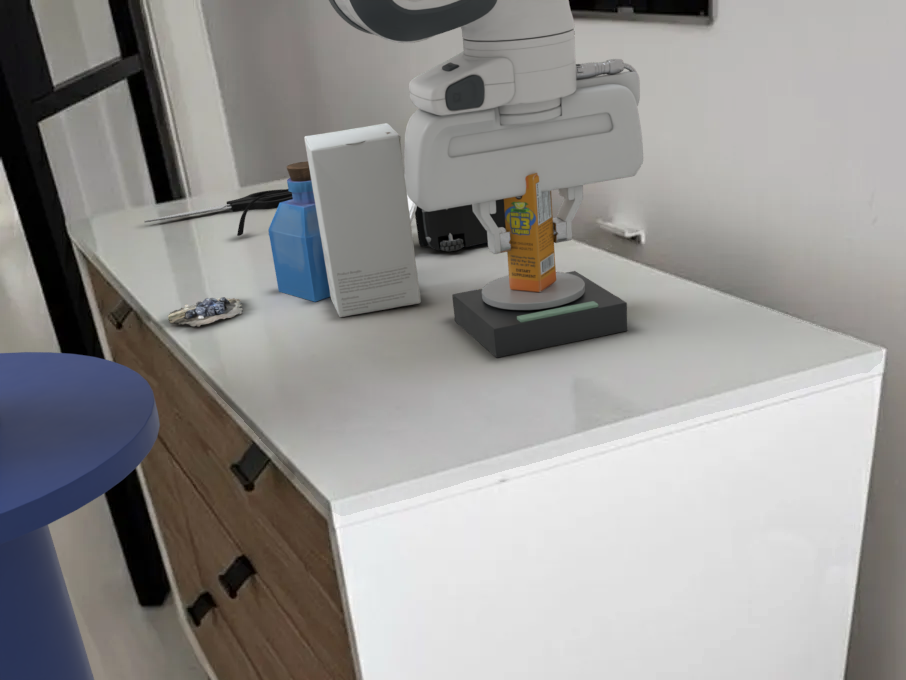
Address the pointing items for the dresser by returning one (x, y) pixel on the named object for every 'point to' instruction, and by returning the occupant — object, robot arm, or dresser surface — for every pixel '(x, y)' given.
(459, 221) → the toy car
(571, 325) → the kitchen scale
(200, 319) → the blueberries
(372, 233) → the cosmetic box
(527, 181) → the supplement box
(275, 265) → the perfume bottle
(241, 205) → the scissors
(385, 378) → the dresser surface
